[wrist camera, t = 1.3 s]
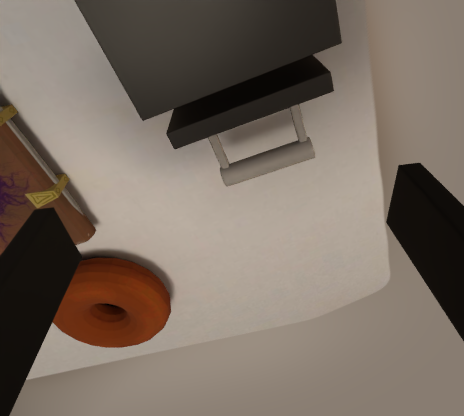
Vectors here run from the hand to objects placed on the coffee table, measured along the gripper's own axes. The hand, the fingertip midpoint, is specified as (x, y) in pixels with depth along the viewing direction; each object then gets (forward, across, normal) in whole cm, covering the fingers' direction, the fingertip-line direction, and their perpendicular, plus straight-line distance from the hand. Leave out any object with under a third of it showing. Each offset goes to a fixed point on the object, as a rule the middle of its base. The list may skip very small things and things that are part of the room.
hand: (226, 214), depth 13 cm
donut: (+18, -17, -24) cm, 35 cm away
